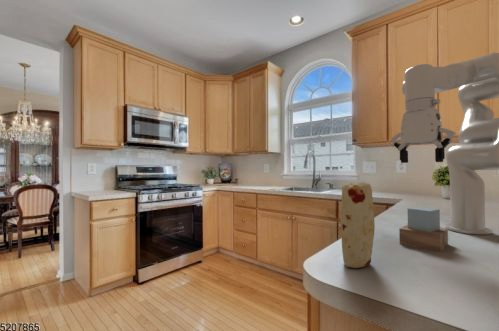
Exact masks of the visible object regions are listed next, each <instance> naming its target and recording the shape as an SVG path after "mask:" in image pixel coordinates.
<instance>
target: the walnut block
mask: <svg viewBox="0 0 499 331" xmlns="http://www.w3.org/2000/svg"><path fill="white" fill-rule="evenodd" d="M398 231H399V232H398V233H399V245H403V246H408V247H414V248H419V249H422V250H423V249H424V250H428V251H434V252H438V253H441V252H442V251H443V250H444V249H446V247H447V246H448V245H449V235H448V234H449V232H448V231H449V230H448V229H447V228H446V227H445V228H444V227H441V228H440V230H436V231H432V232H426V231H421V230H416V229H411V228H408V225H406V224H405V225H403V226H401V227H399V230H398Z"/></svg>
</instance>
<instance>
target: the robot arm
mask: <svg viewBox="0 0 499 331" xmlns="http://www.w3.org/2000/svg"><path fill="white" fill-rule="evenodd" d="M401 89H402V90H401V91H402V94H403V95H404V103H405V104H404V109H405V110H404V111H405V112H404V113H403V114H402V118H401V126H400V132H399V133H397V134H396V135H395V136H393V137H391V139H390V141H391V142H392V144H393V147H395V148H396V149H397V150H398V151H399V160H400V163H401V164H407V163H409V151H408V150H407V149H408V148H409V146H410V145H424V144H434V145H435V146H436V148H434V151H435V152H434V159H435V160H434V161H435V162H436V163H443V162H444V160H446V164H447V167H448V173H449V174H448V175H449V202H450V204H449V205H450V223H447V224H445V225H444V226H445V229H448V231H451V232H455V233H461V234H467V235H477V236H478V235H483V236H485V235H491V234H492V233H493V232H492V229H491V228H489V227H486V201H485V200H486V195H485V194H486V192H485V186H486V185H485V182H484V179H483V178H482V177H481V176H480V174H478V172H476V171H499V117H495V118H494V116H495V113H494V111H493V109H492V108H491V107H490V106H488V105H486V104H484V103H482V102H481V101H487V100H491V99H493V100H494V99H496V98H498V99H499V52H491V53H488V54H484V55H481V56H477V57H474V58H471V59H468V60H465V61H460V62H455V63H451V64H448V65H444V66H433V65H432V64H429V63H423V64H422V63H421V64H416V65H413V66H411V67H409V68H407V69H406V71H405V72H404V80H403V82H402V86H401ZM453 89H458V90H457V98H458V101H459V104H460V107H461V108H462V112H463V114H464V115H463V118H462V122H461V125H460V128H459V131H458V136H457V138H458V142H459V144H456V145H453V146H451V147H449V149H447V151H446V152H445V149H446V148H447V146H448V145H449V144H451V142H452V140H453V139H454V138H455V135H456V134H457V133H456V131H454V130H451V129H447V128H445V127H443V122H442V117H441V114H440V109H439V108H436V107H437V105H440V104H441V99H437V98H435V94H438V93H442V92H446V91H450V90H453ZM444 134H445V135H446V137H445V138H444ZM399 140H400V141H401V143H400V142H399Z"/></svg>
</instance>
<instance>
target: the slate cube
mask: <svg viewBox="0 0 499 331" xmlns="http://www.w3.org/2000/svg"><path fill="white" fill-rule="evenodd" d="M440 213H441V212H440V209H439V208H431V207H425V206H424V207H423V206H413V207H408V208H407V223H408V228H411V229H416V230H421V231H426V232H432V231H436V230H440V227H441V219H440V218H441V216H440V215H441V214H440Z"/></svg>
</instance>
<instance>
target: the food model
mask: <svg viewBox="0 0 499 331" xmlns="http://www.w3.org/2000/svg"><path fill="white" fill-rule="evenodd" d="M373 200H374V199H373V190H372V185H371V184H370V183H368V182H366V181H360V182H357V183H356V182H354V183H353V182H349V183H347V184H343V185H342V187H341V204H340V206H341V208H340V209H341V210H340V235H341V248H342V251H341V252H342V259H343V264H344V265H345V267H347V268H352V269H357V268H358V269H359V268H364V267H367V266H369V265H370V264H372V263H371V262H372V254H373V246H374V239H375V238H374V236H375V228H376V227H375V226H376V225H375V212H374V210H375V209H374V201H373Z"/></svg>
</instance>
